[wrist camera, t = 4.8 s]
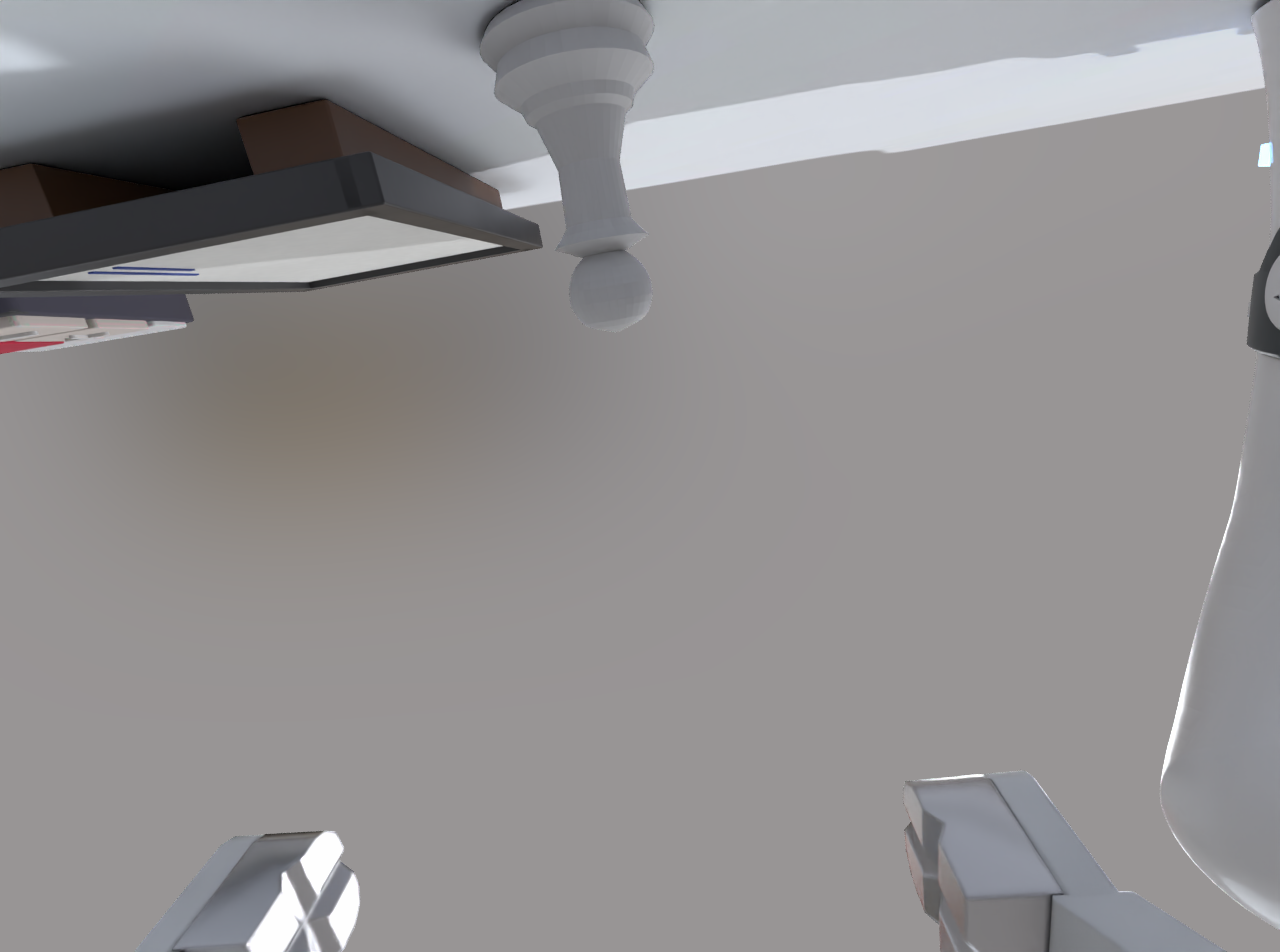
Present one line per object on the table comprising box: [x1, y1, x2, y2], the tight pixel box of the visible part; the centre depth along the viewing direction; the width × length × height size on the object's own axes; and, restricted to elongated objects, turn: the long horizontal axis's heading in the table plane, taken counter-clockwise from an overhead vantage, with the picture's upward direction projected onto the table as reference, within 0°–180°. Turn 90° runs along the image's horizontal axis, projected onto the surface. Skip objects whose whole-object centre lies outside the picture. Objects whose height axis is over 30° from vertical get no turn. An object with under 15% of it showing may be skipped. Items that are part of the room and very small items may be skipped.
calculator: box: [0, 294, 194, 354], centre depth 35 cm, size 11×4×15 cm
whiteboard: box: [0, 99, 543, 298], centre depth 27 cm, size 16×21×3 cm
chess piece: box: [480, 0, 655, 332], centre depth 17 cm, size 5×5×8 cm
